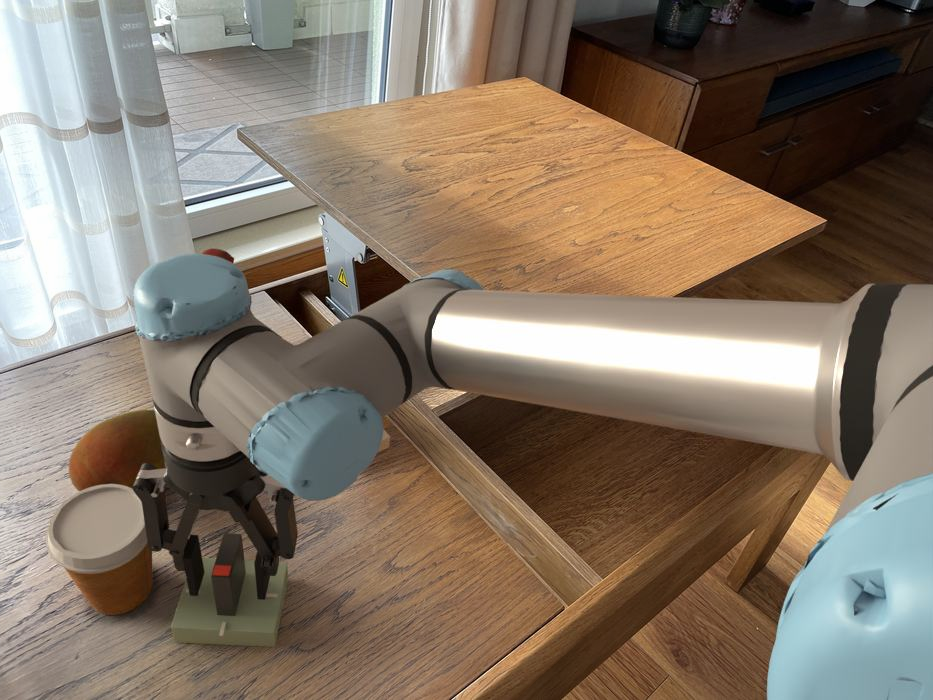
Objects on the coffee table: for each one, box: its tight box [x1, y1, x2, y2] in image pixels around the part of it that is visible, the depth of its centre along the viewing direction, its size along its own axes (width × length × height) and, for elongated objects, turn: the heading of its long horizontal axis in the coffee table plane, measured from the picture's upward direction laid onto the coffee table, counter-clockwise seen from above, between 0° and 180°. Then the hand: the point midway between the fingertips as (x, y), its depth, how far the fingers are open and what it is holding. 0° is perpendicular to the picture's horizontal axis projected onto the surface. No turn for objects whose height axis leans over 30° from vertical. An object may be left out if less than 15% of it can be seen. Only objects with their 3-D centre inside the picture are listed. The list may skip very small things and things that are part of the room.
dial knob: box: [211, 532, 246, 616], centre depth 71 cm, size 5×2×7 cm, turn 1°
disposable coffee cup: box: [45, 484, 154, 616], centre depth 72 cm, size 10×10×12 cm
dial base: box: [170, 557, 289, 648], centre depth 75 cm, size 10×9×3 cm
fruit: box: [68, 409, 168, 492], centre depth 83 cm, size 12×12×10 cm
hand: (230, 585), depth 73 cm, fingers open, 6 cm apart
